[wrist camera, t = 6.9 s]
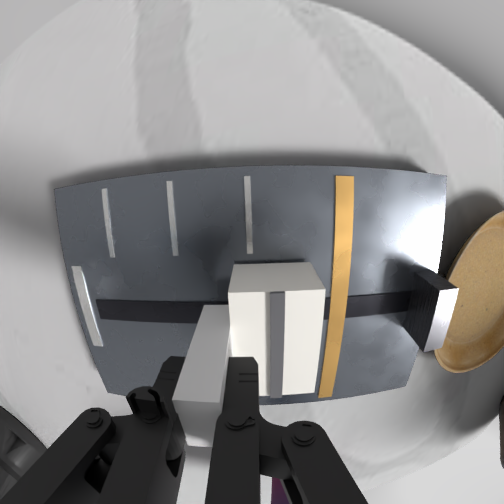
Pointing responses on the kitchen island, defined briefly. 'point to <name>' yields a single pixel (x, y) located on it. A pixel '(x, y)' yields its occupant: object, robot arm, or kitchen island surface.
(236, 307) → the fader
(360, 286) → the console
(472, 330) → the plant saucer
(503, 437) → the pitcher
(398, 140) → the kitchen island surface
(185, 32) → the kitchen island surface
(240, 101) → the kitchen island surface
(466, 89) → the kitchen island surface
